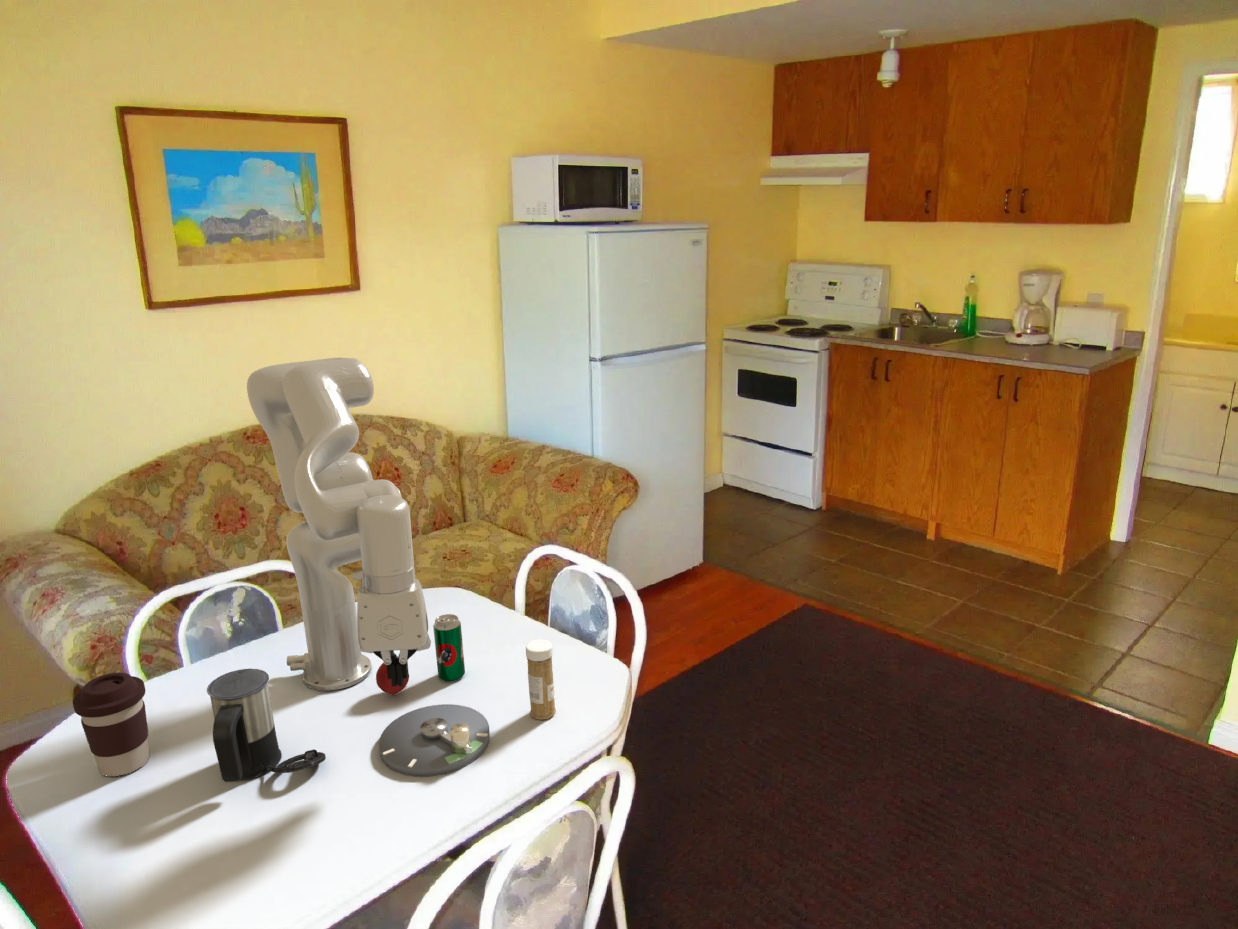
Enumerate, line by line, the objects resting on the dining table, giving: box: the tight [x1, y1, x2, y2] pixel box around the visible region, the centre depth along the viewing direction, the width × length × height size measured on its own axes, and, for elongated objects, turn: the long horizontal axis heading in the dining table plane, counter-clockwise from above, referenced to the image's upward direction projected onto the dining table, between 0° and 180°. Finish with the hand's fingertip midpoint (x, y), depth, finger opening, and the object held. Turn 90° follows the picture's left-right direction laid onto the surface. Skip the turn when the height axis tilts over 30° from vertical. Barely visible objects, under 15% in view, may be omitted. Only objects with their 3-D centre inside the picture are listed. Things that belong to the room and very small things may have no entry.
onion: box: [375, 661, 410, 696], centre depth 157 cm, size 6×6×8 cm
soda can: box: [432, 613, 466, 683], centre depth 162 cm, size 5×5×12 cm
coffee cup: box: [72, 672, 150, 777], centre depth 138 cm, size 10×10×15 cm
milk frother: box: [206, 668, 327, 783], centre depth 137 cm, size 14×16×15 cm
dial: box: [378, 703, 491, 778], centre depth 144 cm, size 18×18×2 cm
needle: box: [420, 718, 472, 754], centre depth 141 cm, size 11×4×4 cm, turn 49°
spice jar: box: [525, 639, 557, 721], centre depth 150 cm, size 5×5×14 cm
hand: (398, 681), depth 136 cm, fingers closed
